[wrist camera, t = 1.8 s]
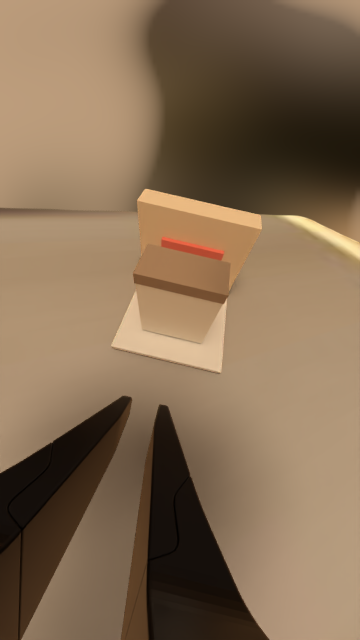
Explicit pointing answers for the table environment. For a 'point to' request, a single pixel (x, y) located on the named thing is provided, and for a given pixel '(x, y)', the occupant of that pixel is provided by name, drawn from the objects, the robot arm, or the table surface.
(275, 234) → the table surface
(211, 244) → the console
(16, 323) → the table surface
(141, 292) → the brown topped beige block
